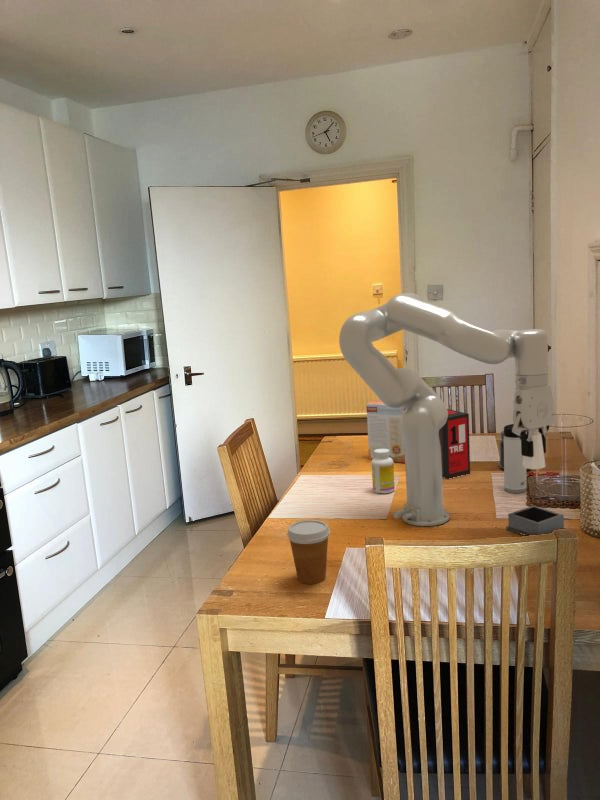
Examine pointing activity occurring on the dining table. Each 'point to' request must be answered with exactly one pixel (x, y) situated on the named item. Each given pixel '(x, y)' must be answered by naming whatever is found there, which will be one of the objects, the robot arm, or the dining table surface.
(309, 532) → the disposable coffee cup
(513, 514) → the grey square tray
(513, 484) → the travel mug
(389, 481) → the supplement bottle
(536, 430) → the pepper shaker
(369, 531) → the dining table surface
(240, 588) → the dining table surface
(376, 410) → the cracker box
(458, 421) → the cleaning product box
